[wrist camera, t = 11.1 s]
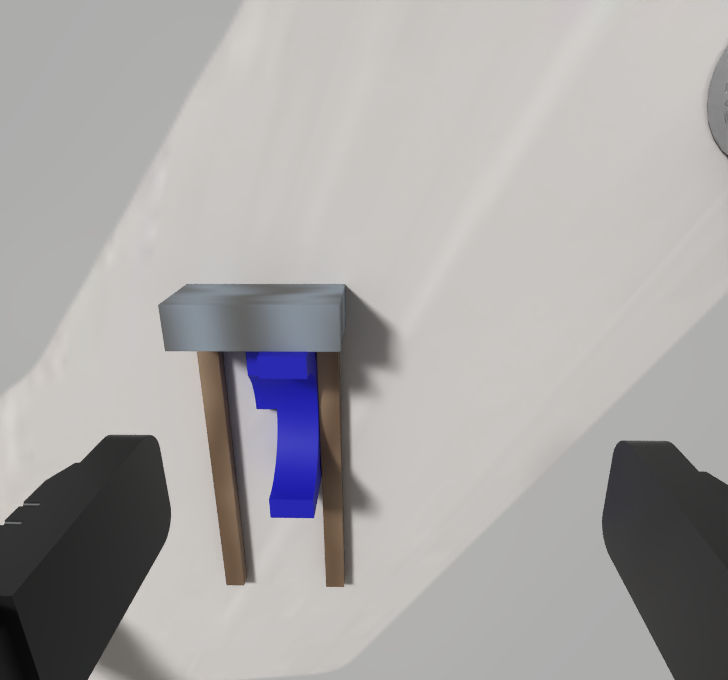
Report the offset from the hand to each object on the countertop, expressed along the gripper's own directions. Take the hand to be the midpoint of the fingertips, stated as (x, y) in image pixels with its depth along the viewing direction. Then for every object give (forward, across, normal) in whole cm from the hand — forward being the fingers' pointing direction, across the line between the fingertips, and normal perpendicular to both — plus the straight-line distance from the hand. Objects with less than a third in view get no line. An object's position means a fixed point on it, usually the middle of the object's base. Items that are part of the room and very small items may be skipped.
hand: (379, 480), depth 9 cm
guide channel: (+27, +9, +16) cm, 33 cm away
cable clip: (+28, +7, +12) cm, 31 cm away
